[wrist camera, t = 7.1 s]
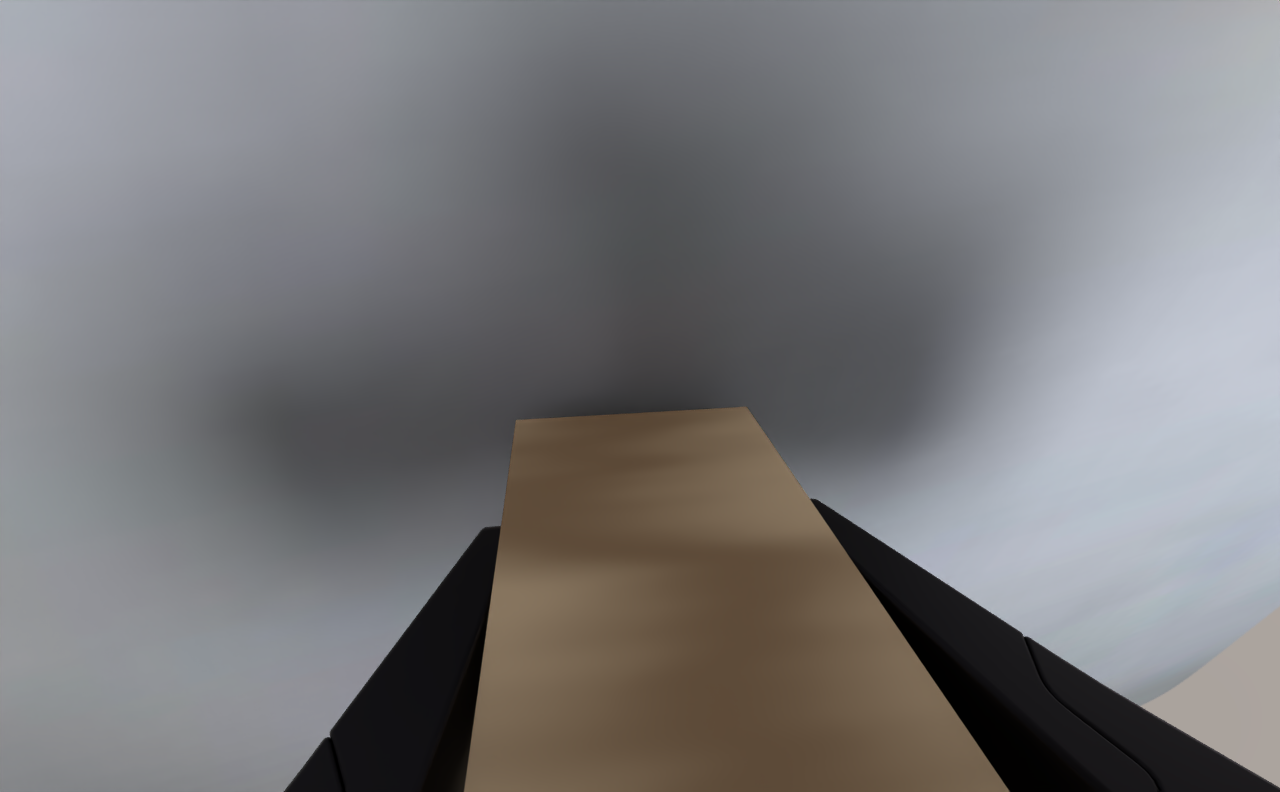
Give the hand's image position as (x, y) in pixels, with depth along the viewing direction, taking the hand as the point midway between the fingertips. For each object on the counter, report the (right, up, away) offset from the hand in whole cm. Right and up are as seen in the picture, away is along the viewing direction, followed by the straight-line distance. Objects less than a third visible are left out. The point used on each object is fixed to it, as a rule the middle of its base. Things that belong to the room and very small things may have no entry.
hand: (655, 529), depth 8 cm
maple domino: (0, +1, +2) cm, 3 cm away
